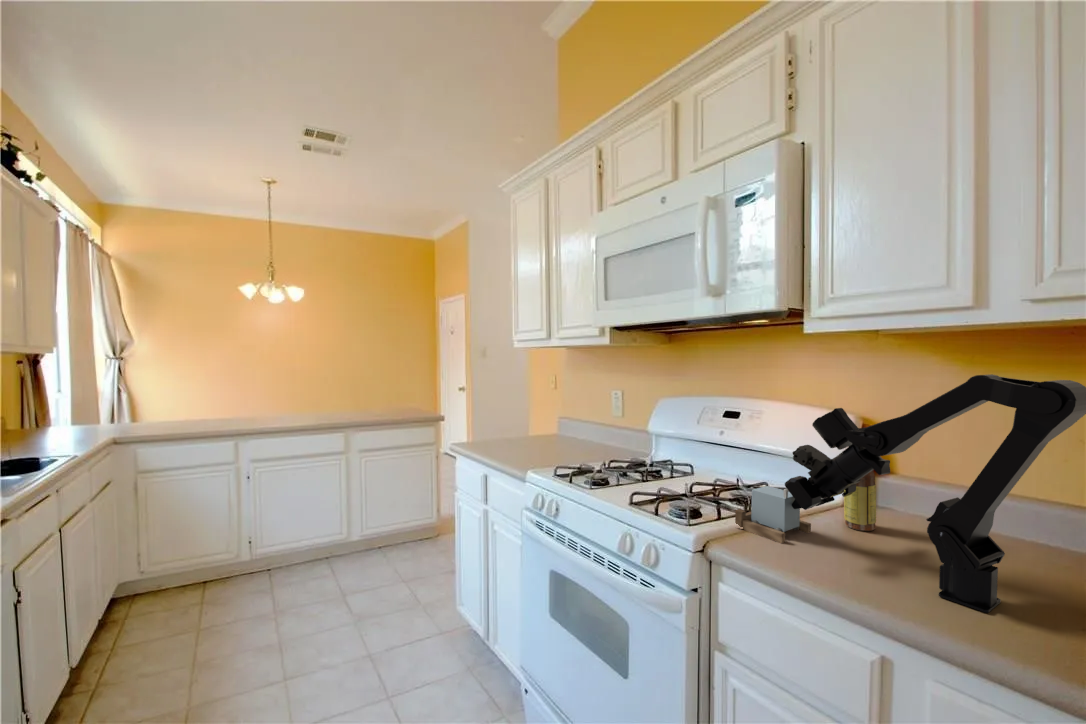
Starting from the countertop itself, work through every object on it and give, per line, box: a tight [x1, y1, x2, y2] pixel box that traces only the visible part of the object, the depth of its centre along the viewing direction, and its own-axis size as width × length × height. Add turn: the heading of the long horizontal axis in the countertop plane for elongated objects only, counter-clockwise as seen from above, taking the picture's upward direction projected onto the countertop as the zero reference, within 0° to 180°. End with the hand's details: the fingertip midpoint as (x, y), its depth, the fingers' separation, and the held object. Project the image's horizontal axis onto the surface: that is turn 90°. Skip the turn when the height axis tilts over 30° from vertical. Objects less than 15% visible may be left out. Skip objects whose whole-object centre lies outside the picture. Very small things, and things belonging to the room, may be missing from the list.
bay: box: [734, 508, 812, 544], centre depth 114 cm, size 11×12×4 cm
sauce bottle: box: [843, 444, 877, 532], centre depth 115 cm, size 7×6×20 cm
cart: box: [750, 485, 801, 533], centre depth 113 cm, size 8×7×10 cm
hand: (793, 506), depth 110 cm, fingers closed
